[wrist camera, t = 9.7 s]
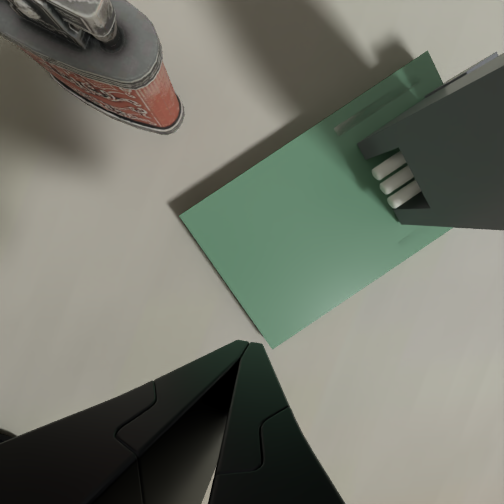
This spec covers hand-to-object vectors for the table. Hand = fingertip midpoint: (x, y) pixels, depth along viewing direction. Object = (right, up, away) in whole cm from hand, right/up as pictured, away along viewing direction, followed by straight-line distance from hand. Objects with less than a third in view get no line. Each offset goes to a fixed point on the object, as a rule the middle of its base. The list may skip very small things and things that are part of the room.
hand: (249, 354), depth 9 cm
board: (+6, +6, +11) cm, 14 cm away
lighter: (-8, +13, +9) cm, 18 cm away
